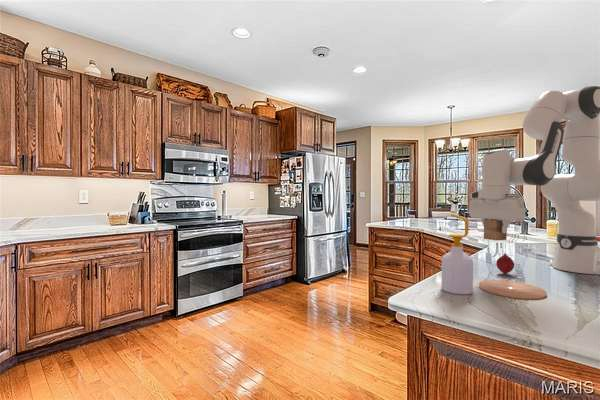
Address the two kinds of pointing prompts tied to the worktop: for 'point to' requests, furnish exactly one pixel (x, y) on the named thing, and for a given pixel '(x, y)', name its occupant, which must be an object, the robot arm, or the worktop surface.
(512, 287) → the plate
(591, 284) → the worktop surface
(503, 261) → the onion
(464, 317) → the worktop surface
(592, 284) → the worktop surface
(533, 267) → the worktop surface
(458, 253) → the soap bottle
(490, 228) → the block
